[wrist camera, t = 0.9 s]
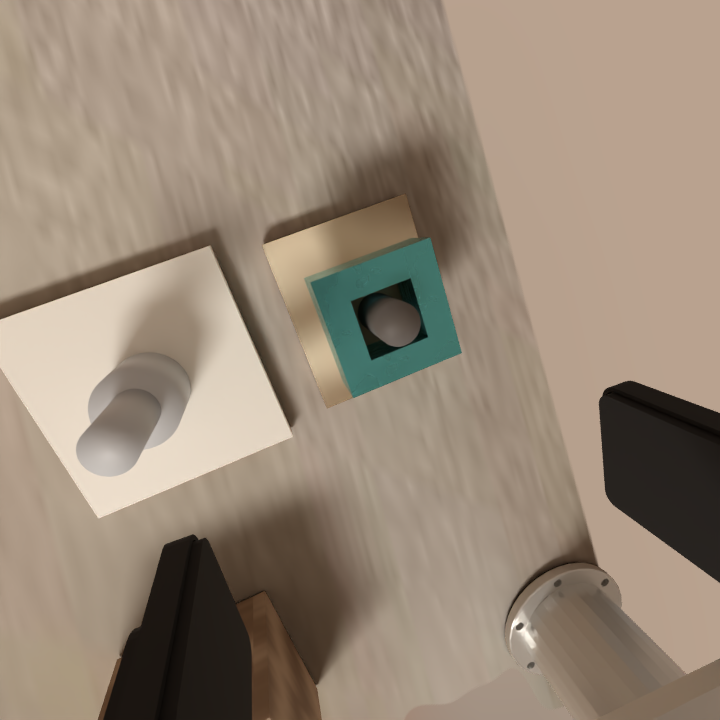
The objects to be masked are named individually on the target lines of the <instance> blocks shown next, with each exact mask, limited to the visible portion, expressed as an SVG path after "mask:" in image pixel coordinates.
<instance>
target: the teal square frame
mask: <svg viewBox="0 0 720 720" xmlns="http://www.w3.org/2000/svg"><path fill="white" fill-rule="evenodd" d="M304 280H305V282H306V285H307V288H308V290H309V293H310V296H311V298H312V301H313V304H314V306H315V309H316V312H317V314H318V317H319V320H320V322H321V325H322V328H323V330H324V333H325V336H326V338H327V341H328V343H329V346H330V349H331V351H332V354H333V357H334V359H335V362H336V365H337V367H338V370H339V373H340V375H341V378H342V381H343V383H344V384H345V386H346V387H347V389H348V391H349V392H350V394H351V395H352V397H353V398H355V397H357V396H359V395H362V394H364V393H367V392H369V391H371V390H374V389H376V388H379V387H381V386H383V385H386V384H388V383H391V382H393V381H395V380H398V379H400V378H403V377H405V376H407V375H410V374H412V373H415V372H417V371H419V370H422V369H424V368H427V367H429V366H431V365H434V364H436V363H439V362H441V361H443V360H446V359H448V358H451V357H453V356H455V355H458V354H460V353H462V352H461V348H460V345H459V341H458V337H457V334H456V330H455V326H454V323H453V319H452V315H451V312H450V308H449V304H448V301H447V297H446V293H445V290H444V286H443V282H442V279H441V275H440V271H439V268H438V264H437V260H436V257H435V253H434V249H433V246H432V242H431V238H430V237H427V238H410V239H407V240H405V241H402V242H399V243H397V244H394V245H391V246H389V247H386V248H383V249H381V250H378V251H375V252H372V253H370V254H367V255H364V256H362V257H359V258H356V259H354V260H351V261H348V262H346V263H343V264H340V265H338V266H335V267H332V268H330V269H327V270H324V271H322V272H319V273H316V274H314V275H311V276H308V277H305V278H304ZM394 284H397V285H398V288H399V292H400V295H401V298H402V301H403V302H406V303H408V304H410V305H412V306H413V307H414V308H415V309H416V310H417V311H418V313H419V316H420V321H421V325H420V330H419V333H418V335H417V336H416V338H415V339H414V340H413V341H412V342H410V343H409V344H407V345H405V346H401V347H394V346H391V345H388V344H387V343H385V342H384V341H382V340H379V341H377V342H374V343H372V344H369V345H367V346H366V344H365V341H364V338H363V335H362V332H361V330H360V327H359V324H358V321H357V318H356V315H355V312H354V309H353V307H352V304H351V301H353V300H355V299H358V298H360V297H363V296H366V295H368V294H371V293H373V292H376V291H378V290H381V289H384V288H386V287H389V286H391V285H394Z"/></svg>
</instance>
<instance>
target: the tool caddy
mask: <svg viewBox="0 0 720 720" xmlns="http://www.w3.org/2000/svg"><path fill="white" fill-rule="evenodd" d="M236 606H237V609H238V611H239V613H240V616H241V618H242V620H243V622H244V625H245V627H246V629H247V632H248V635H249V638H250V643H251V650H252V720H322V719H321V712H320V705H319V698H318V691H317V688H316V686H315V684H314V682H313V680H312V678H311V676H310V674H309V673H308V671H307V669H306V667H305V665H304V663H303V661H302V659H301V658H300V656H299V654H298V652H297V650H296V648H295V646H294V644H293V643H292V641H291V639H290V637H289V635H288V633H287V631H286V629H285V628H284V626H283V624H282V622H281V620H280V618H279V616H278V614H277V613H276V611H275V609H274V607H273V605H272V603H271V601H270V599H269V598H268V596H267V594H266V592H265V591H264V592H262V593H259V594H257V595H255V596H253V597H251V598H249V599H247V600H244V601H242V602H240V603H238V604H236ZM121 659H122V658H119V659H117V662H116V665H115V668H114V671H113V674H112V677H111V680H110V684H109V687H108V690H107V693H106V696H105V699H104V702H103V705H102V708H101V711H100V714H99V718H98V720H103V718H104V715H105V712H106V708H107V705H108V702H109V698H110V695H111V692H112V689H113V685H114V682H115V679H116V676H117V672H118V669H119V666H120V662H121Z"/></svg>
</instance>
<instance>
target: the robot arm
mask: <svg viewBox="0 0 720 720" xmlns="http://www.w3.org/2000/svg"><path fill="white" fill-rule="evenodd" d="M599 410H600V424H601V439H602V452H603V466H604V481H605V492H606V495H607V497H608V499H609V500H610V502H611V503H612V504H613V505H614V506H615V507H617V508H618V509H619V510H621V511H622V512H623V513H625V514H626V515H628V516H629V517H631V518H632V519H633V520H634V521H636V522H637V523H639V524H640V525H641V526H643V527H644V528H645V529H647V530H648V531H650V532H651V533H652V534H654V535H655V536H656V537H658V538H659V539H661V540H662V541H663V542H665V543H666V544H667V545H669V546H670V547H672V548H673V549H674V550H676V551H677V552H678V553H680V554H681V555H682V556H684V557H685V558H687V559H688V560H690V561H691V562H692V563H693V564H695V565H696V566H697V567H699V568H700V569H702V570H703V571H704V572H706V573H707V574H708V575H710V576H711V577H713V578H714V579H715V580H717V581H718V582H720V413H718V412H715V411H713V410H710V409H707V408H704V407H702V406H699V405H696V404H694V403H691V402H688V401H685V400H683V399H680V398H677V397H675V396H672V395H669V394H667V393H664V392H661V391H658V390H656V389H653V388H650V387H647V386H645V385H642V384H639V383H637V382H633V381H627V382H623V383H620V384H618V385H615V386H612V387H609V388H607V389H606V390H605V391H604V392H603V396H602V397H601V398H600V401H599ZM621 606H622V603H621V594H620V590H619V587H618V585H617V584H616V582H615V581H614V580H613V579H612V578H611V577H610V576H609V575H608V574H607V573H606V572H605V571H604V570H602V569H601V568H599V567H598V566H595V565H592V564H588V563H571V564H566V565H563V566H559V567H556V568H554V569H552V570H550V571H548V572H546V573H544V574H543V575H541V576H540V577H538V578H537V579H535V580H534V581H533V582H532V583H531V584H530V585H529V586H527V588H526V589H525V590H524V591H523V592H522V593H521V594H520V595H519V597H518V598H517V600H516V602H515V603H514V605H513V606H512V609H511V611H510V613H509V615H508V619H507V622H506V626H505V640H506V646H507V648H508V650H509V652H510V654H511V656H512V657H513V659H514V660H515V662H516V663H517V664H518V665H519V666H520V667H521V668H522V669H523V670H525V671H527V672H530V673H532V674H537V675H544V677H545V678H546V680H547V681H548V683H549V684H550V685H551V687H552V688H553V690H554V691H555V693H556V694H557V696H558V697H559V699H560V700H561V702H562V703H563V705H564V706H565V707H566V709H567V711H568V712H569V714H570V715H571V717H572V718H573V720H720V659H718V660H716V661H714V662H712V663H710V664H708V665H706V666H704V667H702V668H700V669H698V670H695V671H693V672H691V673H689V674H686V673H685V672H684V671H683V670H682V669H681V668H680V667H679V666H678V665H677V664H676V663H675V662H674V661H673V660H672V659H671V658H670V657H669V656H668V655H667V654H666V653H665V652H664V651H663V650H662V649H661V648H660V647H659V646H658V645H656V643H655V642H653V640H652V639H651V638H650V637H649V636H648V635H647V634H646V633H645V632H643V630H641V628H640V627H638V625H636V623H634V622H633V620H631V618H630V617H629V616H627V615H626V614H625V613H624V612H623V611H622V610H621ZM103 720H252V650H251V643H250V638H249V635H248V632H247V629H246V627H245V625H244V622H243V620H242V618H241V616H240V613H239V611H238V609H237V606H236V604H235V602H234V599H233V597H232V595H231V592H230V590H229V588H228V585H227V583H226V581H225V578H224V576H223V574H222V571H221V569H220V567H219V564H218V562H217V560H216V557H215V555H214V553H213V550H212V548H211V546H210V543H209V541H208V540H207V539H206V538H203V539H200V540H198V538H197V537H196V536H195V535H190V536H187V537H184V538H181V539H179V540H176V541H173V542H170V543H167V544H165V545H164V547H163V550H162V553H161V557H160V560H159V564H158V568H157V571H156V575H155V578H154V582H153V585H152V589H151V593H150V596H149V600H148V603H147V607H146V610H145V614H144V618H143V621H142V625H141V627H139V628H136V629H134V630H133V631H132V632H131V633H130V635H129V638H128V640H127V643H126V646H125V649H124V653H123V656H122V659H121V662H120V666H119V669H118V672H117V676H116V679H115V682H114V685H113V689H112V692H111V695H110V698H109V702H108V705H107V708H106V712H105V715H104V718H103Z"/></svg>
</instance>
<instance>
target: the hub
mask: <svg viewBox="0 0 720 720" xmlns="http://www.w3.org/2000/svg"><path fill="white" fill-rule="evenodd" d="M0 368H1V370H2V371H3V373H4V374H5V376H6V377H7V379H8V380H9V382H10V383H11V385H12V386H13V388H14V390H15V391H16V393H17V394H18V396H19V397H20V399H21V400H22V402H23V403H24V405H25V406H26V408H27V409H28V411H29V413H30V414H31V416H32V417H33V419H34V420H35V422H36V423H37V425H38V426H39V428H40V429H41V431H42V433H43V434H44V436H45V437H46V439H47V440H48V442H49V443H50V445H51V446H52V448H53V449H54V451H55V452H56V454H57V456H58V457H59V459H60V460H61V462H62V463H63V465H64V466H65V468H66V469H67V471H68V472H69V474H70V475H71V477H72V479H73V480H74V482H75V483H76V485H77V486H78V488H79V489H80V491H81V492H82V494H83V495H84V497H85V499H86V500H87V502H88V503H89V505H90V506H91V508H92V509H93V511H94V512H95V514H96V515H97V517H98V518H101V517H103V516H106V515H108V514H110V513H113V512H115V511H117V510H120V509H122V508H125V507H127V506H129V505H132V504H134V503H136V502H139V501H141V500H144V499H146V498H148V497H151V496H153V495H155V494H158V493H160V492H163V491H165V490H167V489H170V488H172V487H174V486H177V485H179V484H182V483H184V482H186V481H189V480H191V479H193V478H196V477H198V476H201V475H203V474H205V473H208V472H210V471H212V470H215V469H217V468H220V467H222V466H224V465H227V464H229V463H231V462H234V461H236V460H239V459H241V458H243V457H246V456H248V455H251V454H253V453H255V452H258V451H260V450H262V449H265V448H267V447H270V446H272V445H274V444H277V443H279V442H281V441H284V440H286V439H289V438H291V437H293V434H292V430H291V428H290V426H289V423H288V421H287V419H286V416H285V414H284V412H283V410H282V407H281V405H280V403H279V400H278V398H277V396H276V393H275V391H274V389H273V387H272V384H271V382H270V380H269V377H268V375H267V373H266V371H265V368H264V366H263V364H262V361H261V359H260V357H259V355H258V352H257V350H256V348H255V345H254V343H253V341H252V339H251V336H250V334H249V332H248V329H247V327H246V325H245V323H244V320H243V318H242V316H241V313H240V311H239V309H238V306H237V304H236V302H235V300H234V297H233V295H232V293H231V290H230V288H229V286H228V284H227V281H226V279H225V277H224V274H223V272H222V270H221V268H220V265H219V263H218V261H217V258H216V256H215V254H214V252H213V249H212V247H211V246H207V247H204V248H202V249H199V250H196V251H193V252H190V253H187V254H185V255H182V256H179V257H176V258H173V259H170V260H168V261H165V262H162V263H159V264H156V265H153V266H151V267H148V268H145V269H142V270H139V271H136V272H134V273H131V274H128V275H125V276H122V277H119V278H117V279H114V280H111V281H108V282H105V283H102V284H100V285H97V286H94V287H91V288H88V289H85V290H83V291H80V292H77V293H74V294H71V295H68V296H66V297H63V298H60V299H57V300H54V301H51V302H49V303H46V304H43V305H40V306H37V307H34V308H32V309H29V310H26V311H23V312H20V313H17V314H15V315H12V316H9V317H6V318H3V319H0Z"/></svg>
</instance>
